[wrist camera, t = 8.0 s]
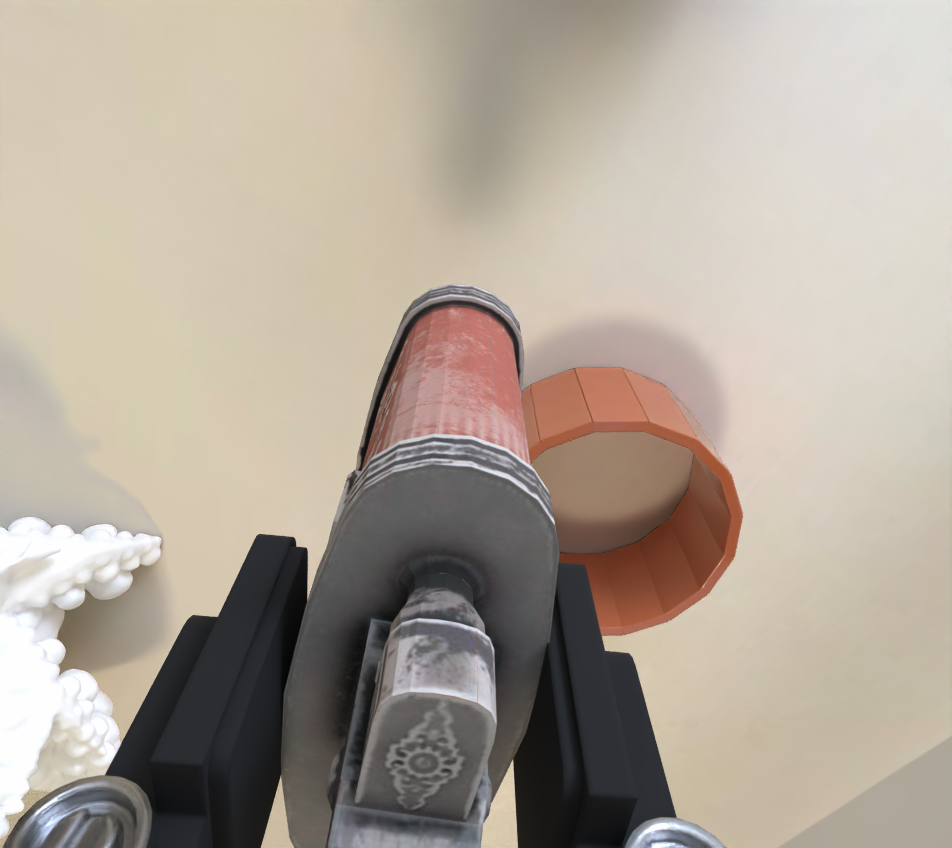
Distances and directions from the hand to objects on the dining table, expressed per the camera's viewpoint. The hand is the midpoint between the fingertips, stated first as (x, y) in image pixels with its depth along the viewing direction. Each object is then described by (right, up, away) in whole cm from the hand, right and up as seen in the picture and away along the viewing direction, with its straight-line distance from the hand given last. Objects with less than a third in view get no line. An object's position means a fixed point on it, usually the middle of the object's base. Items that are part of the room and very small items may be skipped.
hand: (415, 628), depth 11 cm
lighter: (0, +3, +5) cm, 6 cm away
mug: (+5, 0, +23) cm, 24 cm away
